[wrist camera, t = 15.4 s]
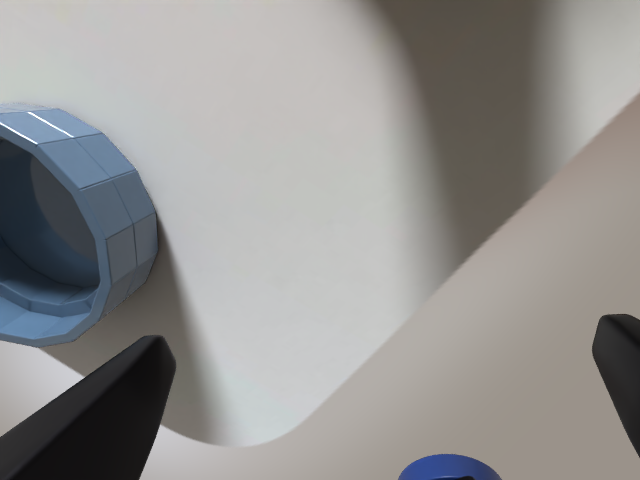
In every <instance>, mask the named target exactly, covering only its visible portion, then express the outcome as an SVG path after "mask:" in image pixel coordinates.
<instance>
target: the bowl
mask: <svg viewBox="0 0 640 480" xmlns="http://www.w3.org/2000/svg"><path fill="white" fill-rule="evenodd" d="M157 252H158V240H157V224H156V212H155V209H154V207H153V205H152V202H151V200H150V198H149V196H148V194H147V191H146V189H145V187H144V185H143V182H142V180H141V178H140V176H139V173H138V171H137V170H136V169H135V168H134V166H133V165H132V164H131V163H130V162H129V161H128V160H127V159H126V158H125V156H124V155H123V154H122V153H121V152H120V151H119V150H118V149H117V148H116V146H115V145H114V144H113V143H112V142H111V141H110V140H109V139H108V138H107V137H106V135H105V134H103V133H102V132H101V131H99V130H97V129H95V128H94V127H92V126H90V125H88V124H87V123H85V122H83V121H81V120H80V119H78V118H76V117H74V116H73V115H71V114H69V113H67V112H66V111H64V110H62V109H58V108H51V107H44V106H37V105H29V104H22V103H12V104H0V340H2V341H7V342H12V343H17V344H22V345H27V346H32V347H38V348H40V347H45V346H51V345H57V344H62V343H68V342H73V341H75V340H76V339H77V338H79V337H80V336H81V335H82V334H84V333H85V332H86V331H87V330H89V329H90V328H91V327H92V326H94V325H95V324H96V323H97V322H99V321H100V320H101V319H102V318H103V317H105V316H106V315H107V314H108V313H109V312H111V311H112V310H113V309H114V308H115V307H117V306H118V305H119V304H120V303H121V302H122V301H124V300H125V299H126V298H127V297H128V296H130V295H131V294H132V293H133V292H134V291H136V290H137V289H138V288H139V287H140V286H142V285H143V284H144V283H145V282H146V280H147V277H148V275H149V272H150V270H151V267H152V265H153V262H154V260H155V257H156V255H157Z"/></svg>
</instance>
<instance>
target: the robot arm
mask: <svg viewBox="0 0 640 480" xmlns="http://www.w3.org/2000/svg"><path fill="white" fill-rule="evenodd" d="M592 353H593V357H594V360H595V362H596V365H597V367H598V369H599V372H600V374H601V376H602V378H603V381H604V383H605V385H606V388H607V390H608V392H609V394H610V397H611V399H612V401H613V404H614V406H615V408H616V411H617V413H618V415H619V417H620V420H621V422H622V424H623V426H624V429H625V431H626V433H627V435H628V437H629V439H630V441H631V443H632V445H633V446H634V448H635V450H636V452H637V454H638V456H639V457H640V320H639V319H637V318H635V317H633V316H631V315H627V314H612V315H604V316H602V317H601V318H600V320H599V323H598V326H597V330H596V334H595V338H594V342H593V346H592ZM175 372H176V360H175V358H174V356H173V354H172V352H171V350H170V347H169V345H168V343H167V341H166V339H165V338H164V337H163V336H160V335H152V336H144V337H142V338H140V339H139V340H138V341H136V342H135V343H133V344H132V345H131V346H129V347H128V348H126V349H125V350H123V351H122V352H121V353H119V354H118V355H116V356H115V357H113V358H112V359H111V360H109V361H108V362H106V363H105V364H104V365H102V366H101V367H99V368H98V369H96V370H95V371H94V372H92V373H91V374H89V375H88V376H86V377H85V378H84V379H82V380H81V381H79V382H78V383H76V384H75V385H74V386H72V387H71V388H69V389H68V390H67V391H65V392H64V393H62V394H61V395H60V396H58V397H57V398H55V399H54V400H52V401H51V402H49V403H48V404H47V405H45V406H44V407H42V408H41V409H40V410H38V411H37V412H35V413H34V414H32V415H31V416H30V417H28V418H27V419H25V420H24V421H22V422H21V423H20V424H18V425H17V426H15V427H14V428H12V429H11V430H10V431H8V432H7V433H5V434H4V435H3V436H1V437H0V480H139V479H140V476H141V473H142V471H143V469H144V466H145V464H146V461H147V459H148V456H149V454H150V451H151V449H152V446H153V443H154V440H155V438H156V435H157V432H158V429H159V426H160V423H161V419H162V416H163V412H164V409H165V406H166V402H167V399H168V396H169V392H170V389H171V385H172V382H173V379H174V375H175ZM455 480H476V479H475V478H474V477H472V476H463V477H461V478H458V479H455Z"/></svg>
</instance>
